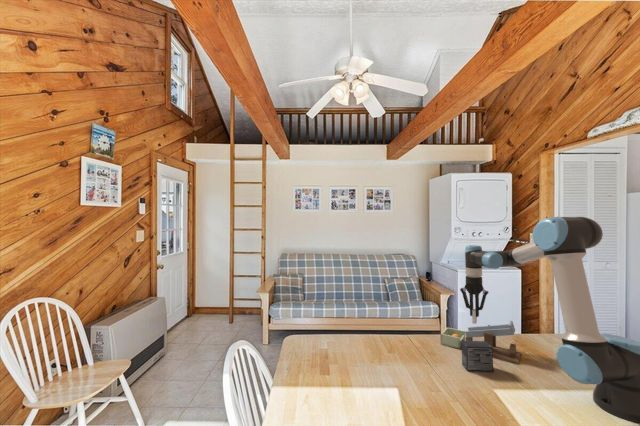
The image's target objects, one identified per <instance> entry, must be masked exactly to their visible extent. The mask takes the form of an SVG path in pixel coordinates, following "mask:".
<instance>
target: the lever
mask: <svg viewBox="0 0 640 426" xmlns="http://www.w3.org/2000/svg"><path fill="white" fill-rule="evenodd" d="M464 331H465V330H464ZM484 332H490V333H493V336H496V337H501V336H502V337H503V336H514V335H515V333H516V328H515V324H514V323H513V320H509V323H508V324H507V323H506V324H495V325H493V324H492V325H491V326H488V325H482V326H481V325H480V326H479V325H478V326H470V327H469V326H468V327H467V330H466V331H465V338H466V337H467V338H470V337H473V338H482V337H483V338H484Z"/></svg>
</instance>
